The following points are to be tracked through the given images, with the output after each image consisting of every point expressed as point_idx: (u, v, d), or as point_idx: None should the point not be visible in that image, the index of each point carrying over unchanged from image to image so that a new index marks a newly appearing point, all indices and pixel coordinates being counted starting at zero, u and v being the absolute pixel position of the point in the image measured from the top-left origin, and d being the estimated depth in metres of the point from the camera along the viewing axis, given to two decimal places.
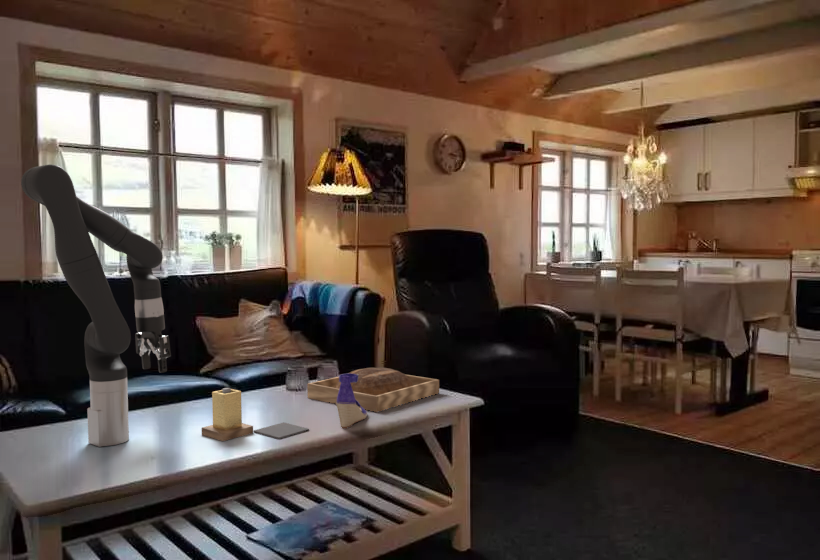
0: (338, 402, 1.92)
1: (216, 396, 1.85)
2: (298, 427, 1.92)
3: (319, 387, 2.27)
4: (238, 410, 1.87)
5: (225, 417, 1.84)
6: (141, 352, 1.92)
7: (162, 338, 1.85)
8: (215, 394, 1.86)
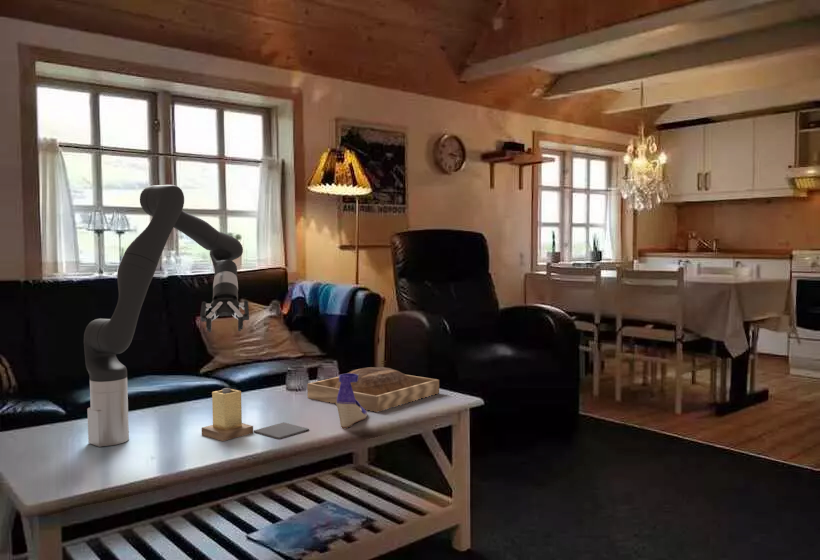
0: (338, 402, 1.92)
1: (216, 396, 1.85)
2: (298, 427, 1.92)
3: (319, 387, 2.27)
4: (238, 410, 1.87)
5: (225, 417, 1.84)
6: (210, 315, 2.01)
7: (247, 302, 2.07)
8: (215, 394, 1.86)
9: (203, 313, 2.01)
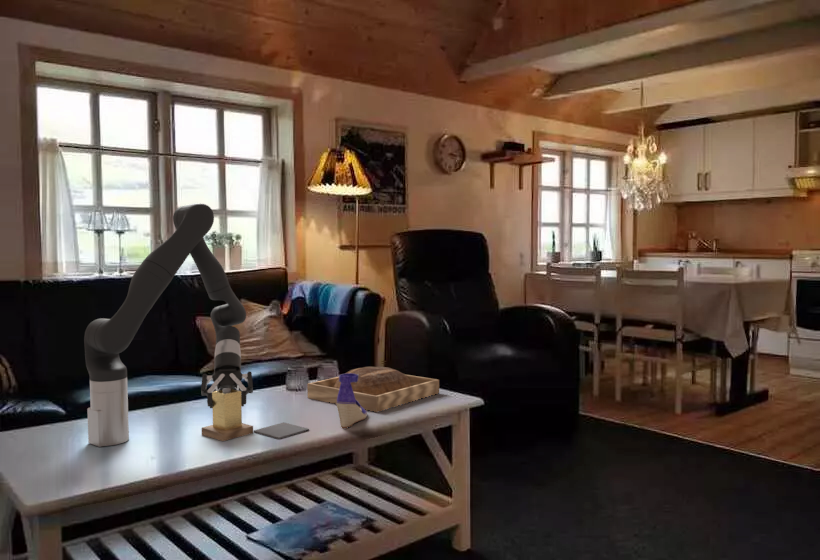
0: (338, 402, 1.92)
1: (216, 396, 1.85)
2: (298, 427, 1.92)
3: (319, 387, 2.27)
4: (238, 410, 1.87)
5: (225, 417, 1.84)
6: (211, 389, 1.89)
7: None
8: (215, 394, 1.86)
9: (204, 387, 1.89)
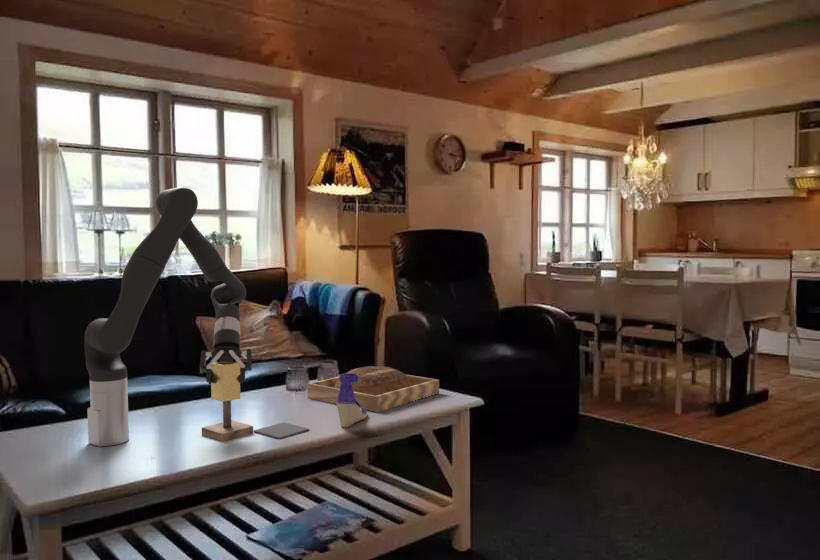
0: (338, 402, 1.92)
1: (215, 367, 1.85)
2: (298, 427, 1.92)
3: (319, 387, 2.27)
4: (237, 382, 1.86)
5: (223, 388, 1.83)
6: (210, 365, 1.87)
7: (250, 351, 1.93)
8: (214, 365, 1.85)
9: (203, 363, 1.87)
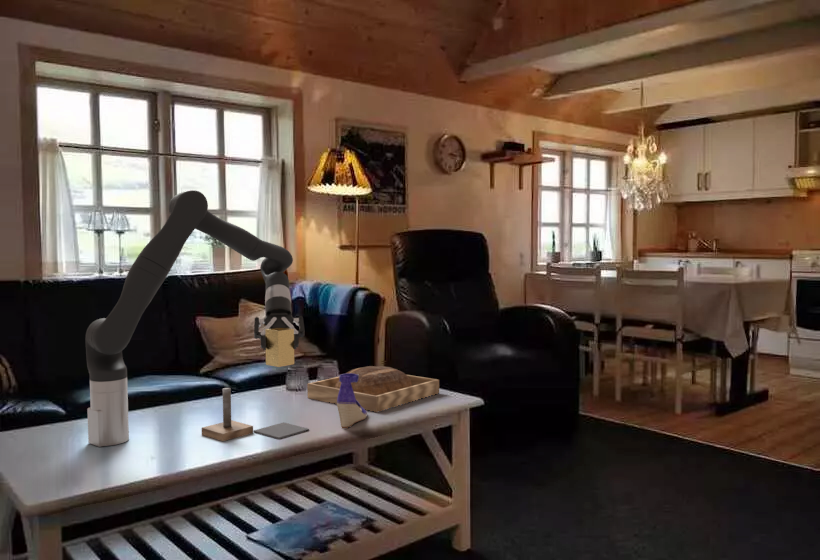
0: (338, 402, 1.92)
1: (269, 333, 1.86)
2: (298, 427, 1.92)
3: (319, 387, 2.27)
4: (291, 348, 1.88)
5: (279, 353, 1.85)
6: (264, 331, 1.89)
7: None
8: (268, 331, 1.87)
9: (257, 330, 1.89)
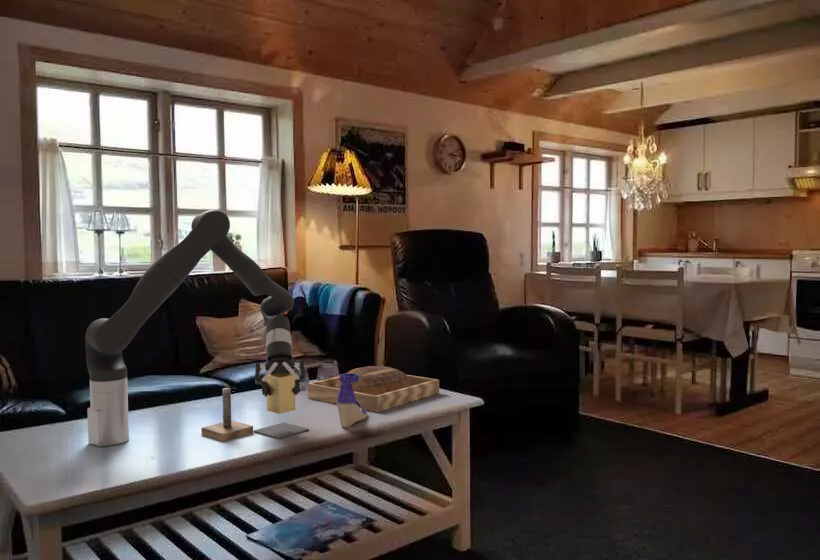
0: (339, 402, 1.92)
1: (270, 380, 1.87)
2: (298, 427, 1.92)
3: (319, 387, 2.27)
4: (292, 394, 1.89)
5: (280, 400, 1.85)
6: (265, 377, 1.90)
7: None
8: (269, 378, 1.87)
9: (258, 376, 1.89)
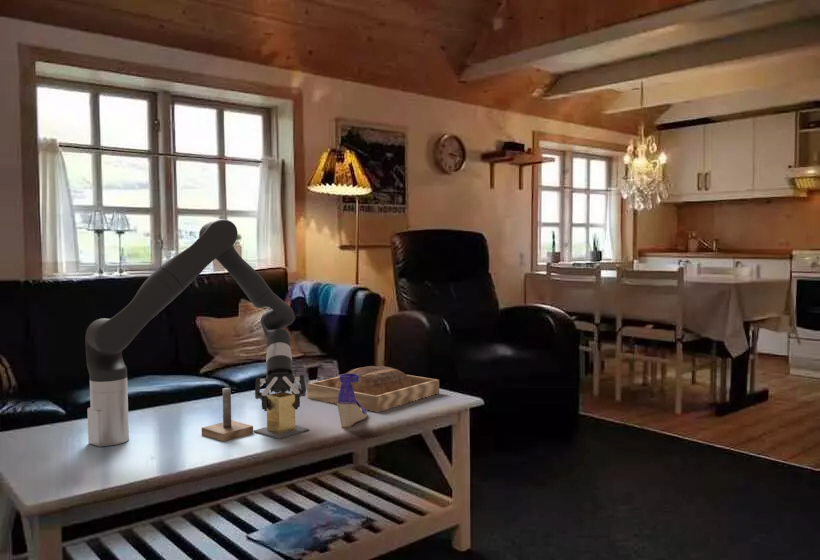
0: (339, 402, 1.92)
1: (271, 399, 1.88)
2: (298, 427, 1.92)
3: (319, 387, 2.27)
4: (292, 413, 1.89)
5: (280, 420, 1.86)
6: (265, 392, 1.90)
7: None
8: (270, 397, 1.88)
9: (258, 390, 1.90)
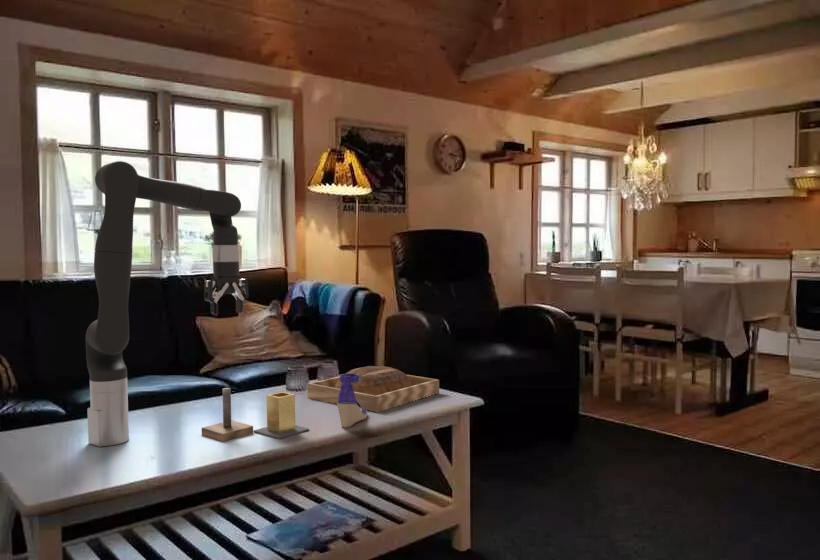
0: (339, 402, 1.92)
1: (270, 399, 1.88)
2: (298, 427, 1.92)
3: (319, 387, 2.27)
4: (292, 413, 1.89)
5: (279, 420, 1.86)
6: (217, 298, 1.98)
7: None
8: (269, 397, 1.88)
9: (211, 296, 1.96)
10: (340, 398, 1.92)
